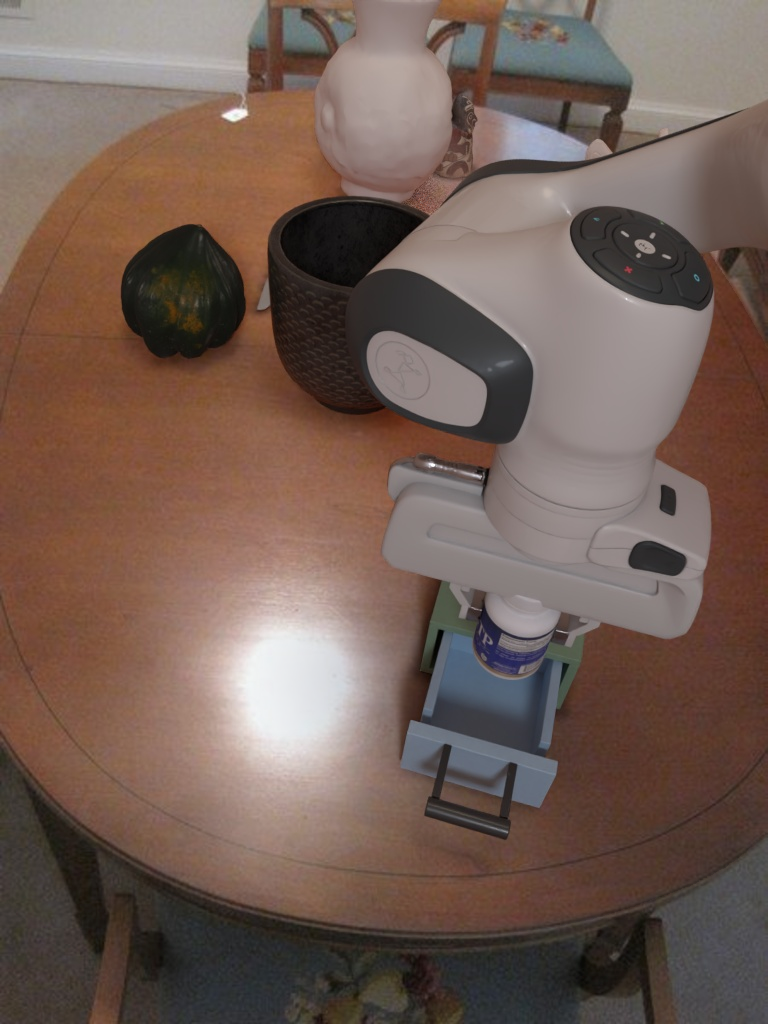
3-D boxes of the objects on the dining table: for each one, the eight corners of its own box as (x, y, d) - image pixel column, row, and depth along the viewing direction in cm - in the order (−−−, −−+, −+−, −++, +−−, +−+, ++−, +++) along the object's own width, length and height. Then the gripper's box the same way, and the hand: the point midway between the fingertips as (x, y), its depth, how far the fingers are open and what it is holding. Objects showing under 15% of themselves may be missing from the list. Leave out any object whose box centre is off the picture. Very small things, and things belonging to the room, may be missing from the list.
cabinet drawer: (528, 879, 64) (547, 846, 59) (380, 835, 65) (387, 799, 61) (559, 677, 76) (576, 637, 72) (434, 643, 77) (443, 601, 73)
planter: (307, 460, 93) (310, 311, 79) (246, 355, 105) (240, 208, 91) (465, 419, 100) (494, 275, 86) (392, 324, 112) (407, 183, 98)
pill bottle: (470, 618, 65) (490, 542, 58) (539, 624, 65) (567, 548, 59) (472, 680, 61) (495, 605, 55) (545, 685, 61) (576, 612, 55)
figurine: (462, 182, 140) (474, 106, 131) (422, 170, 141) (431, 95, 132) (478, 165, 144) (490, 91, 135) (439, 154, 146) (448, 80, 137)
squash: (83, 330, 97) (164, 244, 89) (112, 262, 107) (186, 181, 100) (186, 402, 104) (268, 328, 97) (203, 333, 115) (279, 261, 107)
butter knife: (307, 218, 127) (288, 215, 127) (271, 310, 111) (249, 306, 111) (307, 221, 127) (287, 218, 127) (271, 313, 111) (249, 309, 111)
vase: (358, 237, 125) (373, 10, 103) (293, 171, 137) (294, -45, 115) (464, 213, 133) (499, -3, 111) (393, 153, 145) (413, -54, 123)
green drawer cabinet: (559, 709, 75) (581, 661, 69) (419, 670, 76) (430, 621, 71) (577, 591, 84) (597, 540, 79) (451, 558, 86) (462, 506, 80)
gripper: (377, 482, 50) (362, 621, 60) (736, 572, 47) (656, 701, 57) (404, 414, 54) (385, 555, 64) (734, 494, 51) (660, 627, 62)
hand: (516, 625), depth 61 cm, fingers closed on pill bottle, 5 cm apart
